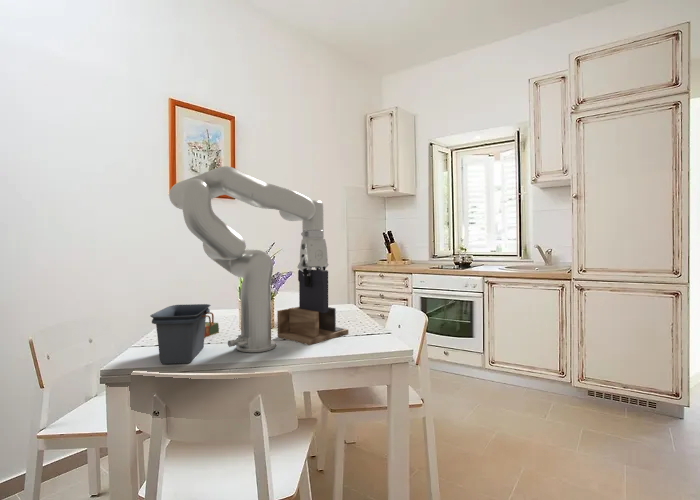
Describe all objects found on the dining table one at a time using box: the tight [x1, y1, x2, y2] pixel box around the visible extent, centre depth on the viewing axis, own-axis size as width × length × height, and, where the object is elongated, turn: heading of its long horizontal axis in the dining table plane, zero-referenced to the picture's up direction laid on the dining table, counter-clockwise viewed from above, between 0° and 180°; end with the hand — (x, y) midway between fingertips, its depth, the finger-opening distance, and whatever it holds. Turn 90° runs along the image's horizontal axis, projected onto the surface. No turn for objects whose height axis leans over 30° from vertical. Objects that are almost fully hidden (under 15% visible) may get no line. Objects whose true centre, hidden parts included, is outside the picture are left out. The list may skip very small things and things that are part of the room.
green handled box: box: [204, 321, 220, 339], centre depth 150 cm, size 8×16×4 cm, turn 160°
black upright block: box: [297, 268, 329, 313], centre depth 150 cm, size 11×4×15 cm, turn 58°
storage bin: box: [149, 303, 215, 365], centre depth 126 cm, size 21×16×14 cm
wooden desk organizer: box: [276, 306, 349, 346], centre depth 151 cm, size 20×16×10 cm
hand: (313, 285), depth 150 cm, fingers closed on black upright block, 4 cm apart
